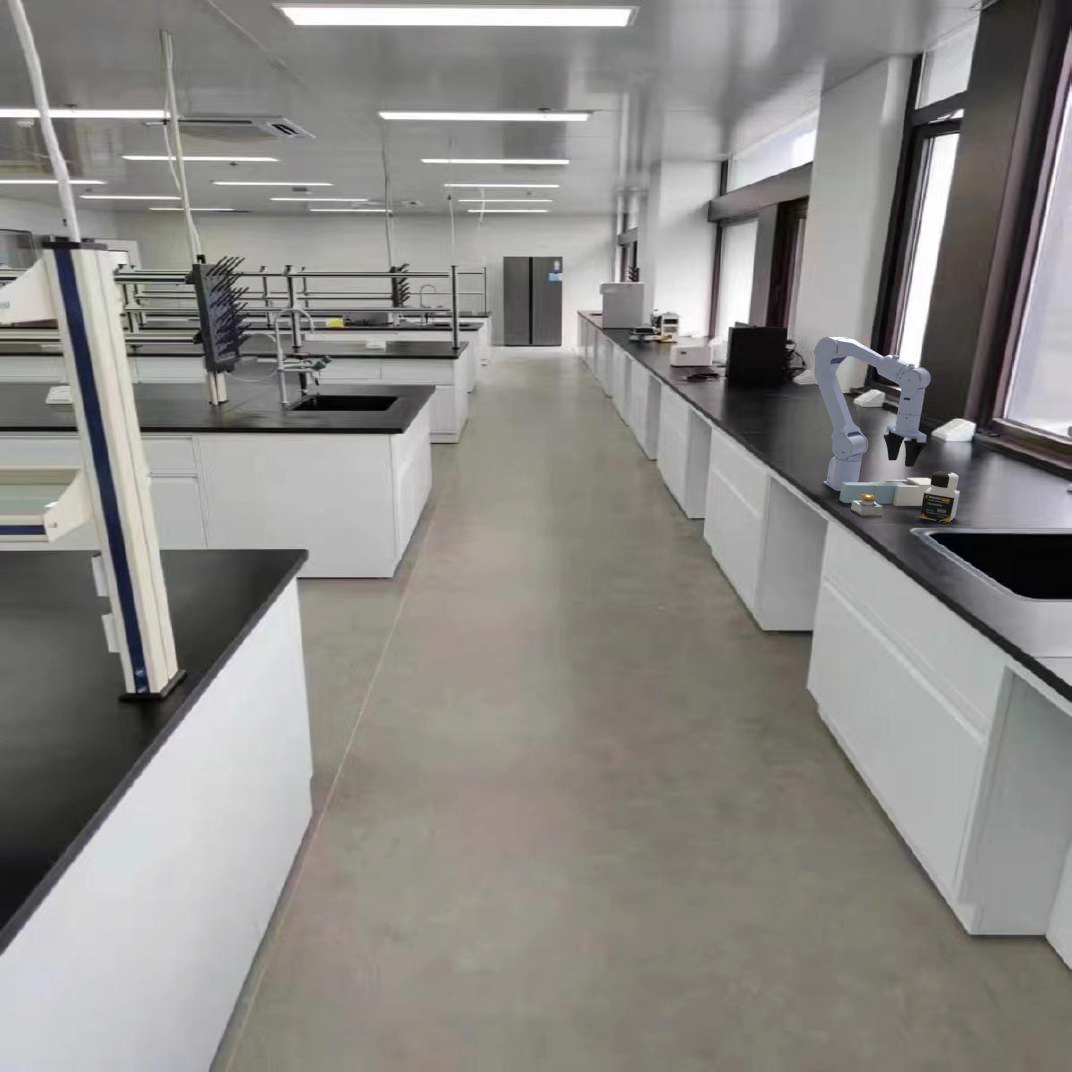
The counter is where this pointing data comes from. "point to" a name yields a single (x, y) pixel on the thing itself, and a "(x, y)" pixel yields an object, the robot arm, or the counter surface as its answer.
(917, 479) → the housing
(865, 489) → the cartridge
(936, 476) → the medicine bottle
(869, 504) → the gold-topped knob
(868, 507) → the plunger collar
